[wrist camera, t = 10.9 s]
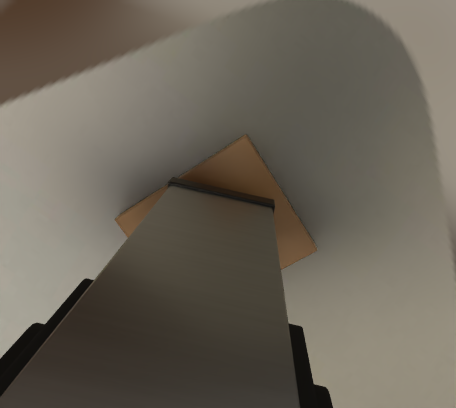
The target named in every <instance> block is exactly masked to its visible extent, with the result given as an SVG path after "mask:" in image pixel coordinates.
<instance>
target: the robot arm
mask: <svg viewBox="0 0 456 408" xmlns="http://www.w3.org/2000/svg"><path fill="white" fill-rule="evenodd" d="M93 281H94V280H91V279H84V280H83V281H82V282H81V283H80V284H79V285H78V287H77V288H76V289H75V290H74V291H73V292H72V294H71V295H70V296H69V297H68V298H67V299H66V301H65V302H64V303H63V304H62V305H61V306H60V308H59V309H58V310H57V311H56V312H55V313H54V315H53V316H52V317H51V318H50V319H49V320H48V322H47V323H46V324H40V323H34V324H32V325H31V326H30V327H29V328H28V329H27V330H26V331H25V332H24V333H23V335H22V336H21V337H20V338H19V339H18V340H17V341H16V342H15V343H14V344H13V345H12V347H11V348H10V349H9V350H8V351H7V352H6V353H5V354H4V355H3V356H2V358H1V359H0V397H1V396H2V394H3V393H4V392H5V391H6V389H7V388H8V387H9V386H10V384H11V383H12V382H13V381H14V379H15V378H16V377H17V376H18V375H19V373H20V372H21V371H22V370H23V368H24V367H25V366H26V365H27V363H28V362H29V361H30V360H31V358H32V357H33V356H34V355H35V353H36V352H37V351H38V350H39V348H40V347H41V346H42V345H43V343H44V342H45V341H46V340H47V338H48V337H49V336H50V335H51V333H52V332H53V331H54V330H55V328H56V327H57V326H58V325H59V323H60V322H61V321H62V320H63V318H64V317H65V316H66V315H67V314H68V312H69V311H70V310H71V309H72V307H73V306H74V305H75V304H76V302H77V301H78V300H79V299H80V297H81V296H82V295H83V294H84V292H85V291H86V290H87V289H88V287H89V286H90V285H91V284H92V282H93ZM288 325H289V332H290V339H291V346H292V353H293V361H294V368H295V375H296V382H297V389H298V397H299V404H300V408H333V406H332V402H331V398H330V394H329V391H328V389H327V388H326V387H323V386H319V385H314V384H313V378H312V373H311V368H310V363H309V358H308V353H307V348H306V343H305V337H304V332H303V328H302V327H301V326H297V325H293V324H288Z"/></svg>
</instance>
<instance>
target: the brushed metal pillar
mask: <svg viewBox="0 0 456 408" xmlns="http://www.w3.org/2000/svg"><path fill="white" fill-rule="evenodd" d="M274 210H275V201H274V200H273V199H269V198H264V197H260V196H255V195H251V194H246V193H242V192H238V191H233V190H229V189H224V188H220V187H215V186H211V185H206V184H202V183H197V182H193V181H188V180H184V179H180V178H175V177H172V179H171V180H170V181H169V182H168V188H167V190H166V192H165V193H164V194H163V195H162V197H161V198H160V199H159V200H158V201H157V203H156V204H155V205H154V206H153V208H152V209H151V210H150V211H149V213H148V214H147V215H146V216H145V218H144V219H143V220H142V221H141V223H140V224H139V225H138V226H137V228H136V229H135V230H134V231H133V233H132V234H131V235H130V236H129V238H128V239H127V240H126V241H125V243H124V244H123V245H122V246H121V248H120V249H119V250H118V251H117V253H116V254H115V255H114V256H113V258H112V259H111V260H110V261H109V262H108V264H107V265H106V266H105V267H104V269H103V270H102V271H101V272H100V274H99V275H98V276H97V277H96V279H95V280H94V281H93V282H92V284H91V285H90V286H89V287H88V289H87V290H86V291H85V292H84V294H83V295H82V296H81V297H80V299H79V300H78V301H77V302H76V304H75V305H74V306H73V307H72V309H71V310H70V311H69V312H68V314H67V315H66V316H65V317H64V318H63V320H62V321H61V322H60V323H59V325H58V326H57V327H56V328H55V330H54V331H53V332H52V333H51V335H50V336H49V337H48V338H47V340H46V341H45V342H44V343H43V345H42V346H41V347H40V348H39V350H38V351H37V352H36V353H35V355H34V356H33V357H32V358H31V360H30V361H29V362H28V363H27V365H26V366H25V367H24V368H23V370H22V371H21V372H20V373H19V375H18V376H17V377H16V378H15V379H14V381H13V382H12V383H11V384H10V386H9V387H8V388H7V389H6V391H5V392H4V393H3V394H2V396H1V397H0V408H300V404H299V397H298V389H297V382H296V375H295V368H294V361H293V353H292V346H291V339H290V332H289V325H288V317H287V310H286V303H285V296H284V289H283V282H282V274H281V267H280V260H279V253H278V246H277V238H276V231H275V224H274V217H273V214H274Z"/></svg>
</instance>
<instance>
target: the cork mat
mask: <svg viewBox="0 0 456 408" xmlns="http://www.w3.org/2000/svg"><path fill="white" fill-rule="evenodd" d="M178 178H180V179H184V180H188V181H193V182H197V183H202V184H206V185H211V186H215V187H220V188H224V189H229V190H233V191H238V192H242V193H246V194H251V195H255V196H260V197H264V198H269V199H273V200H274V201H275V210H274V214H273V217H274V224H275V231H276V238H277V246H278V253H279V260H280V267H281V269H283V268H285V267H287V266H289V265H291V264H293V263H295V262H297V261H298V260H300V259H302V258H304V257H306V256H308V255H310V254H312V253H313V252H315V251H317V247H316V245H315V243H314V242H313V240H312V238H311V237H310V235H309V234H308V232H307V230H306V229H305V227H304V225H303V224H302V222H301V221H300V219H299V217H298V216H297V214H296V213H295V211H294V209H293V208H292V206H291V205H290V203H289V201H288V200H287V198H286V197H285V195H284V193H283V192H282V190H281V189H280V187H279V185H278V184H277V182H276V181H275V179H274V177H273V176H272V174H271V173H270V171H269V169H268V168H267V166H266V165H265V163H264V161H263V160H262V158H261V157H260V155H259V153H258V152H257V150H256V149H255V147H254V145H253V144H252V142H251V141H250V139H249V137H248V136H247V135H244V136H242V137H241V138H239V139H238V140H236V141H235V142H233V143H231V144H230V145H228V146H227V147H225V148H224V149H222V150H220V151H219V152H217V153H216V154H214V155H213V156H211V157H209V158H208V159H206V160H205V161H203V162H202V163H200V164H198V165H197V166H195V167H194V168H192V169H191V170H189V171H187V172H186V173H184V174H183V175H181V176H180V177H178ZM167 188H168V184H167V185H165V186H164V187H162V188H161V189H159V190H157V191H156V192H154V193H153V194H151V195H150V196H148V197H146V198H145V199H143V200H142V201H140V202H139V203H137V204H135V205H134V206H132V207H131V208H129V209H128V210H126V211H124V212H123V213H121V214H120V215H118V216H117V217H116V218H115V221H116V222H117V224H118V225H119V226H120V228H121V229H122V230H123V232H124V233H125V234H126V236H127V237H128V238H129V236H130V235H131V234H132V233H133V231H134V230H135V229H136V228H137V226H138V225H139V224H140V223H141V221H142V220H143V219H144V218H145V216H146V215H147V214H148V213H149V211H150V210H151V209H152V208H153V206H154V205H155V204H156V203H157V201H158V200H159V199H160V198H161V197H162V195H163V194H164V193H165V192H166V190H167Z"/></svg>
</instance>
